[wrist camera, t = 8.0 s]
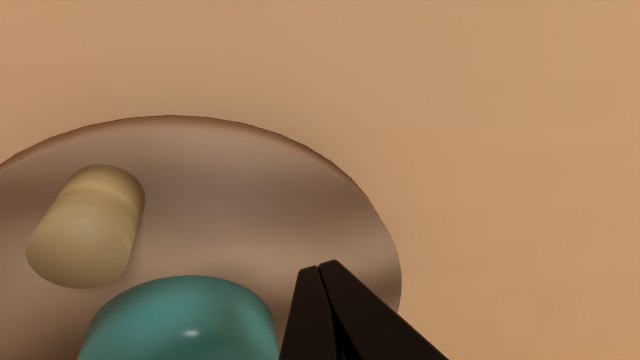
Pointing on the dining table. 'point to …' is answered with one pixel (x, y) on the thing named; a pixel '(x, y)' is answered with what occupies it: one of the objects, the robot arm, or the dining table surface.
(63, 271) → the disc
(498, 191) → the dining table surface
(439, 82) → the dining table surface
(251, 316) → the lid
